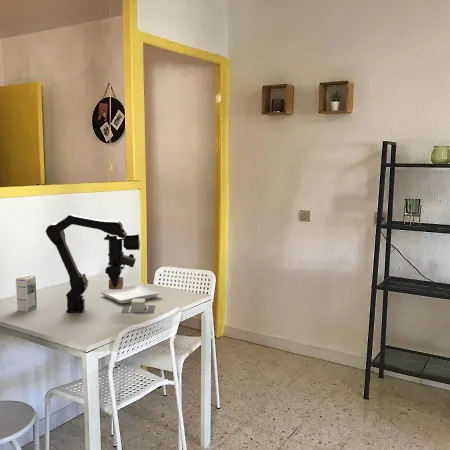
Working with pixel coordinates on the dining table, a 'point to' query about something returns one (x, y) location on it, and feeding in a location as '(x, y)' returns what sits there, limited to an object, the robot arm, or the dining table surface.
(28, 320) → the dining table surface
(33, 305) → the syrup box
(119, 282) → the walnut block
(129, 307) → the mat
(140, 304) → the sage block
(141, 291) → the salad plate
